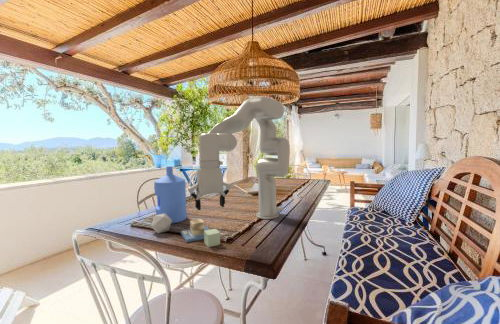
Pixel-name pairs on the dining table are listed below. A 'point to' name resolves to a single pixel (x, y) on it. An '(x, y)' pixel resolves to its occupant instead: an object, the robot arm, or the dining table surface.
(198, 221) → the pine block
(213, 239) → the green block
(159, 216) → the die
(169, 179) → the water jug
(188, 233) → the board
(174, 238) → the dining table surface
